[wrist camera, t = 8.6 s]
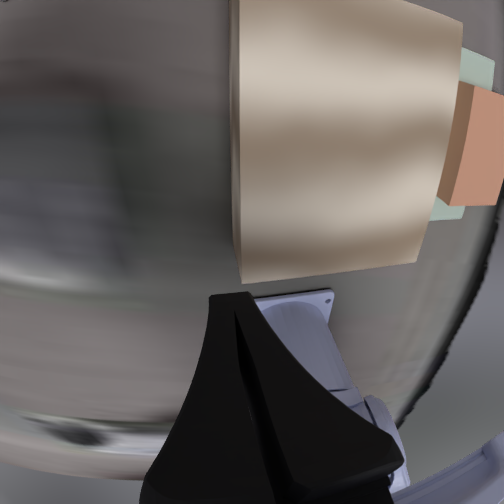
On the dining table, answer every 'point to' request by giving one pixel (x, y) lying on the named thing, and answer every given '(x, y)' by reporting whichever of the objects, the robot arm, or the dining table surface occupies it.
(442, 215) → the mat
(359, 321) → the dining table surface
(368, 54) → the plate
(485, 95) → the tile
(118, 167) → the dining table surface
